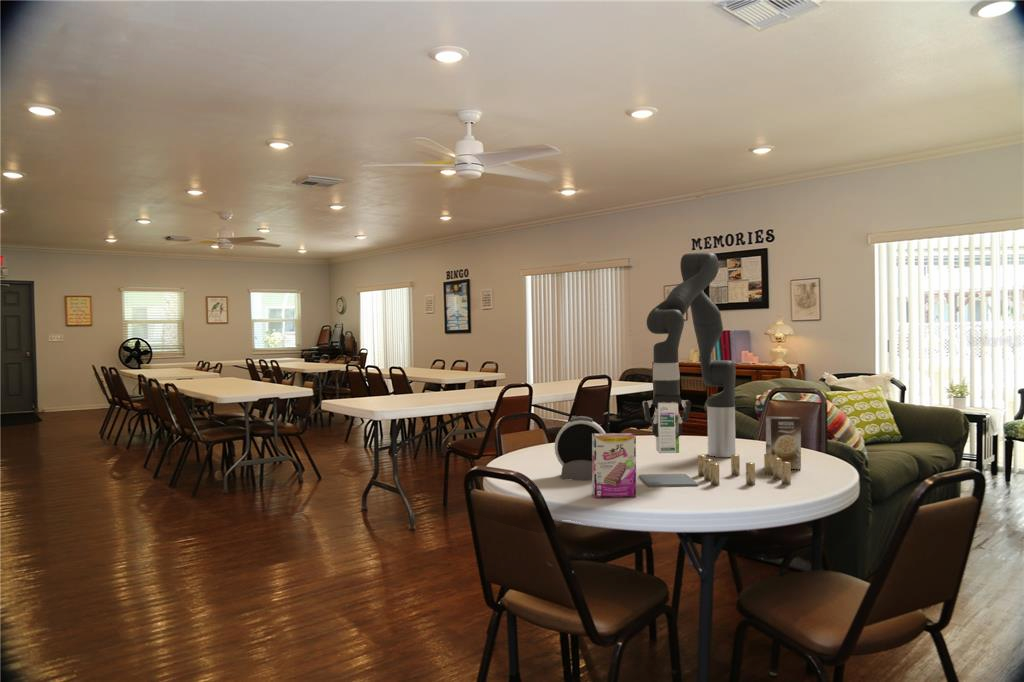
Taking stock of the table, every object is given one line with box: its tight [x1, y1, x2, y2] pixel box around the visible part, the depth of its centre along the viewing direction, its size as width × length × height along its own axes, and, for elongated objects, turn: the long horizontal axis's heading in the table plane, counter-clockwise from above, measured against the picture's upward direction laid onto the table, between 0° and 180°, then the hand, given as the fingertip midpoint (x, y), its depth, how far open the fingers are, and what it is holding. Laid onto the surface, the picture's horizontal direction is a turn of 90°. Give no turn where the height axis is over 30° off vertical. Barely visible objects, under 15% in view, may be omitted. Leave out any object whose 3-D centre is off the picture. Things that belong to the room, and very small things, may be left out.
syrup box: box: [654, 402, 680, 454], centre depth 196 cm, size 6×6×14 cm
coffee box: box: [765, 415, 802, 471], centre depth 212 cm, size 9×6×16 cm
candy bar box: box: [591, 432, 637, 499], centre depth 179 cm, size 11×5×16 cm, turn 92°
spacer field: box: [697, 453, 792, 486], centre depth 196 cm, size 15×22×6 cm
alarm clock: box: [554, 415, 607, 481], centre depth 204 cm, size 16×10×18 cm, turn 81°
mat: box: [638, 473, 699, 487], centre depth 196 cm, size 14×14×1 cm
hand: (667, 436), depth 196 cm, fingers closed on syrup box, 5 cm apart
